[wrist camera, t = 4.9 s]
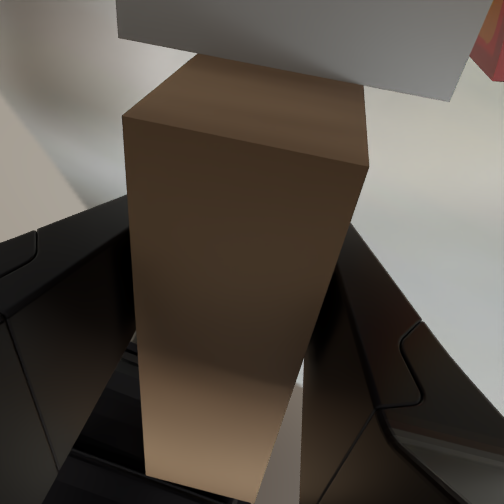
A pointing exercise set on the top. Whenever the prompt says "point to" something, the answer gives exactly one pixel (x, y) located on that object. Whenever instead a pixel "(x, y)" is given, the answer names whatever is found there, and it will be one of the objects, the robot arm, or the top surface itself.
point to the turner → (254, 202)
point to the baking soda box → (491, 43)
